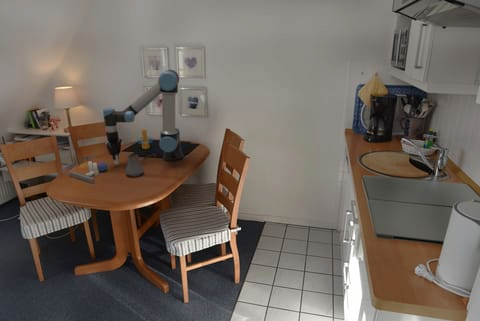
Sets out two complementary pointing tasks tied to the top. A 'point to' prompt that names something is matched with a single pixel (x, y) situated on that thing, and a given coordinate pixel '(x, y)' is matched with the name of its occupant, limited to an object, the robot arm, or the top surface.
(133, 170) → the coffee pot
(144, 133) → the yellow tall rounded piece
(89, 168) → the back right pin
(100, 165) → the ball
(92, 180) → the grey long bar
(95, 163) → the back left pin
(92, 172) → the front pin
